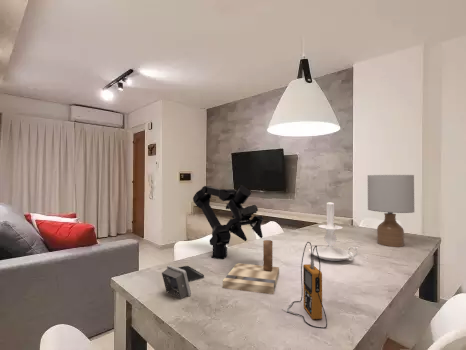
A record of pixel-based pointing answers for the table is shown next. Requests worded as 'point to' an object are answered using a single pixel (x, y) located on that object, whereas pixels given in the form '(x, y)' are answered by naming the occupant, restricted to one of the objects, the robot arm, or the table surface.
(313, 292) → the multimeter
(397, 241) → the lamp
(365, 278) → the table surface
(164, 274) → the electrical switch
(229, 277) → the board
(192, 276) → the phone
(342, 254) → the candlestick
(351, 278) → the table surface
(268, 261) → the brown round-topped cylinder
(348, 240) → the table surface
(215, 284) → the table surface
